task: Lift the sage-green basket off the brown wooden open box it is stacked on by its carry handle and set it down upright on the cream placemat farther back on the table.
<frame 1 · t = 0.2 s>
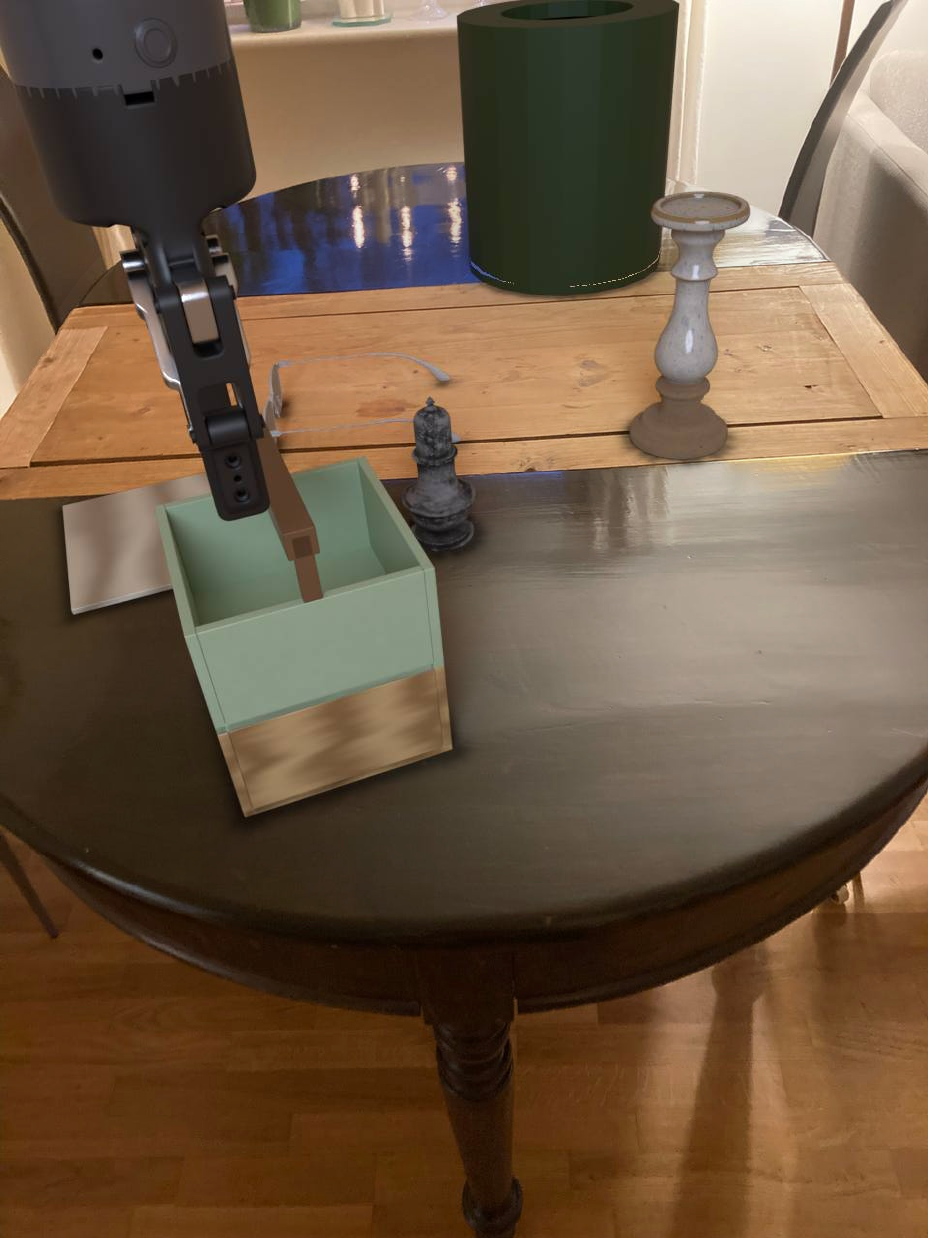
hand: (227, 466, 42), 22 cm above the table, tool pointing down, fingers open, 8 cm apart
placemat: (166, 534, 77), on the table
candle holder: (677, 438, 85), on the table
flower pot: (563, 261, 123), on the table
eyeglasses: (366, 420, 91), on the table
brown wooden open box: (324, 712, 60), on the table, touching top basket
top basket: (306, 630, 56), point 7 cm above the table, touching brown wooden open box
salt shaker: (442, 534, 75), on the table
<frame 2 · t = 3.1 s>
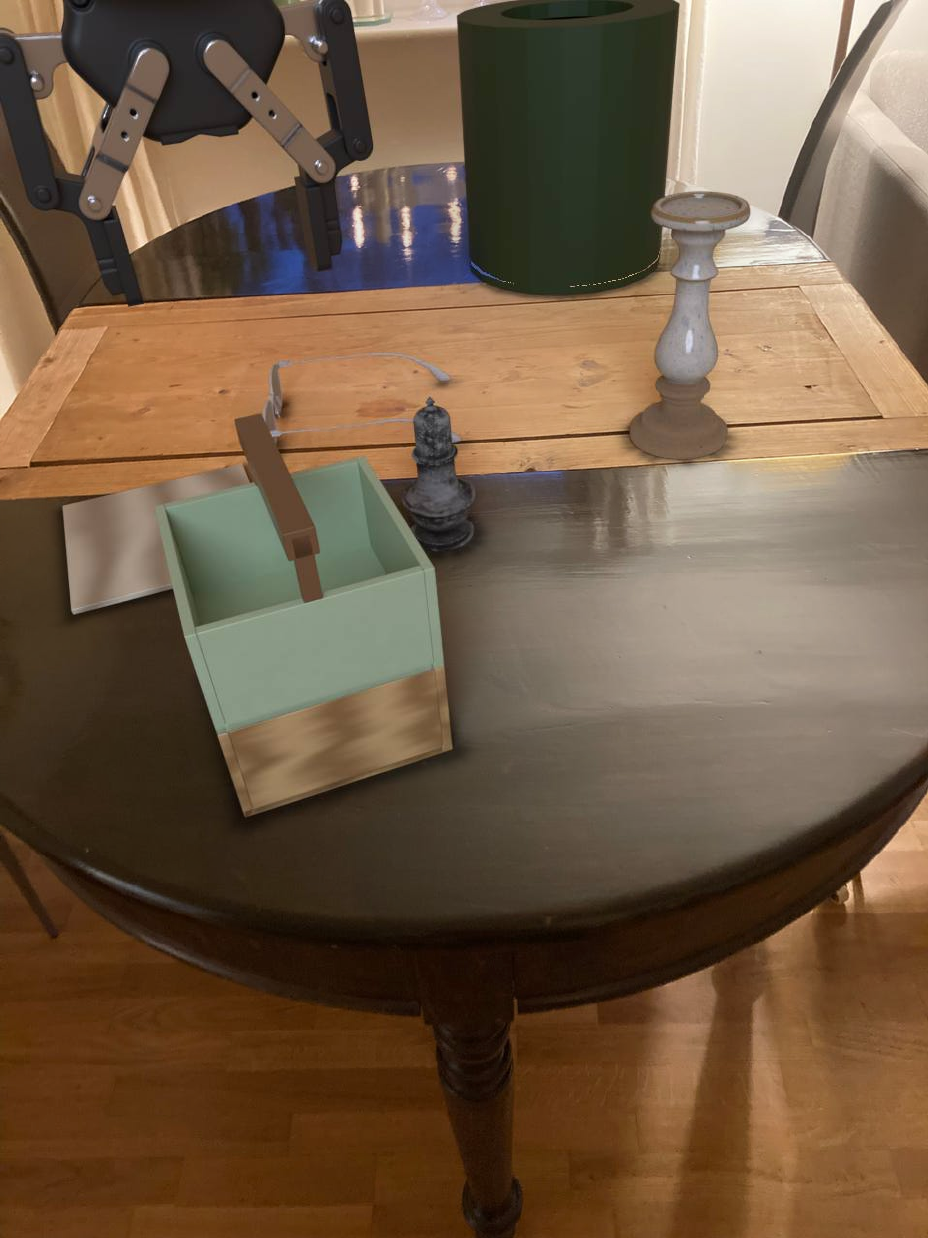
hand: (230, 282, 42), 28 cm above the table, tool pointing down, fingers open, 8 cm apart
nothing on the table moved.
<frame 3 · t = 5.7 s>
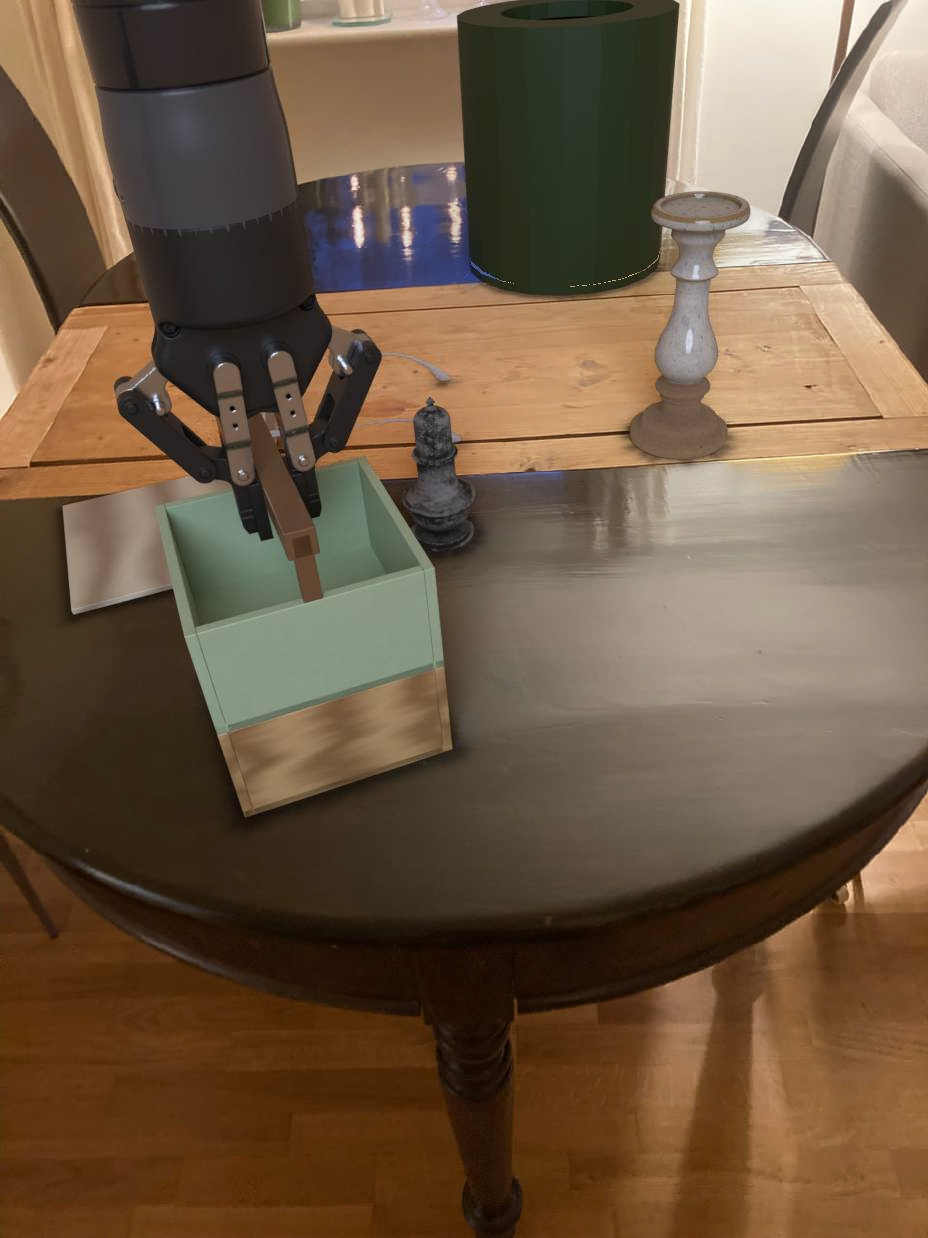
hand: (284, 526, 51), 15 cm above the table, tool pointing down, fingers closed on top basket
top basket: (306, 630, 56), point 7 cm above the table, touching brown wooden open box, gripper
everything else where it was.
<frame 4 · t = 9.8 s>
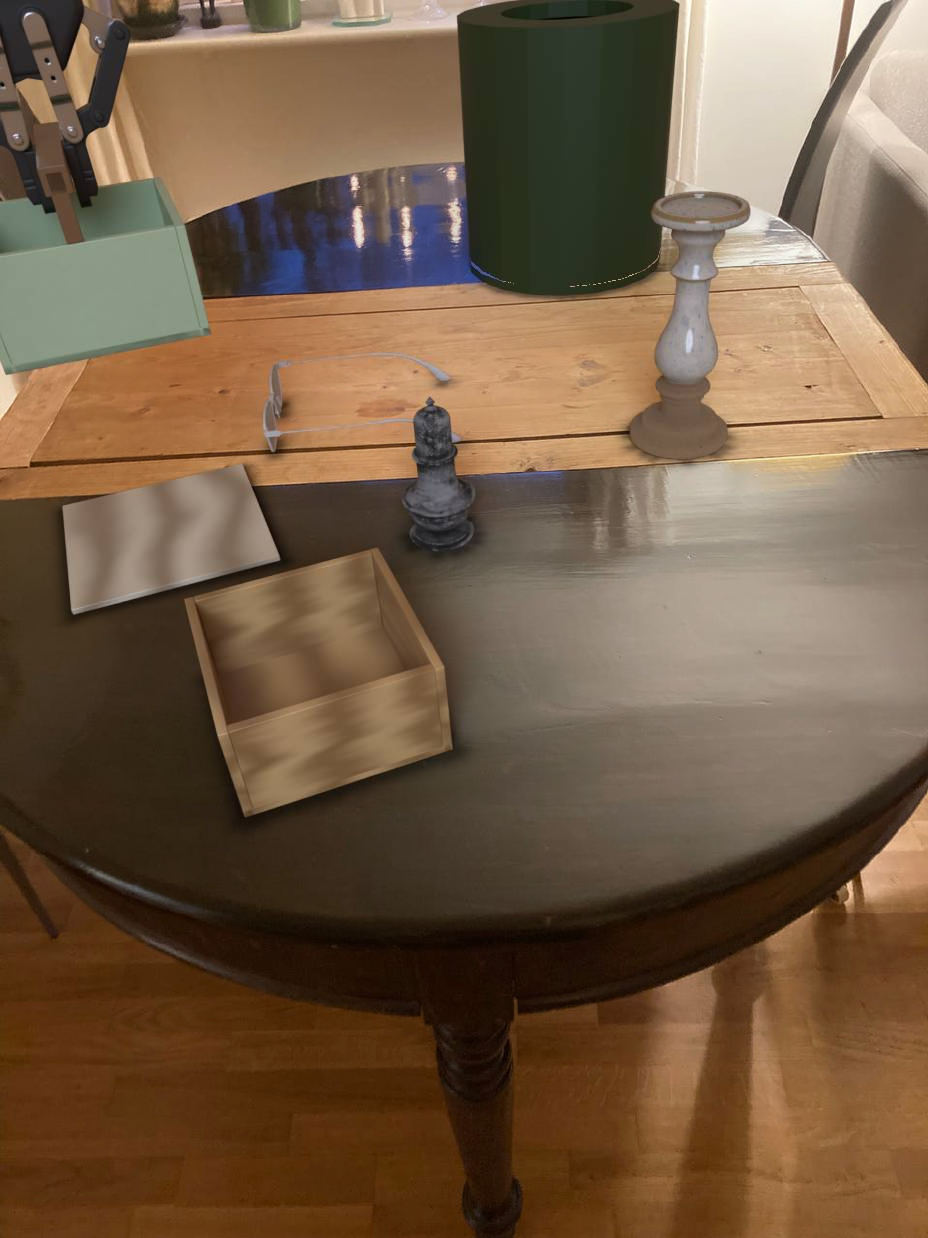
hand: (68, 206, 60), 26 cm above the table, tool pointing down, fingers closed on top basket
brown wooden open box: (324, 712, 60), on the table
top basket: (104, 319, 64), point 19 cm above the table, touching gripper
everything else where it was.
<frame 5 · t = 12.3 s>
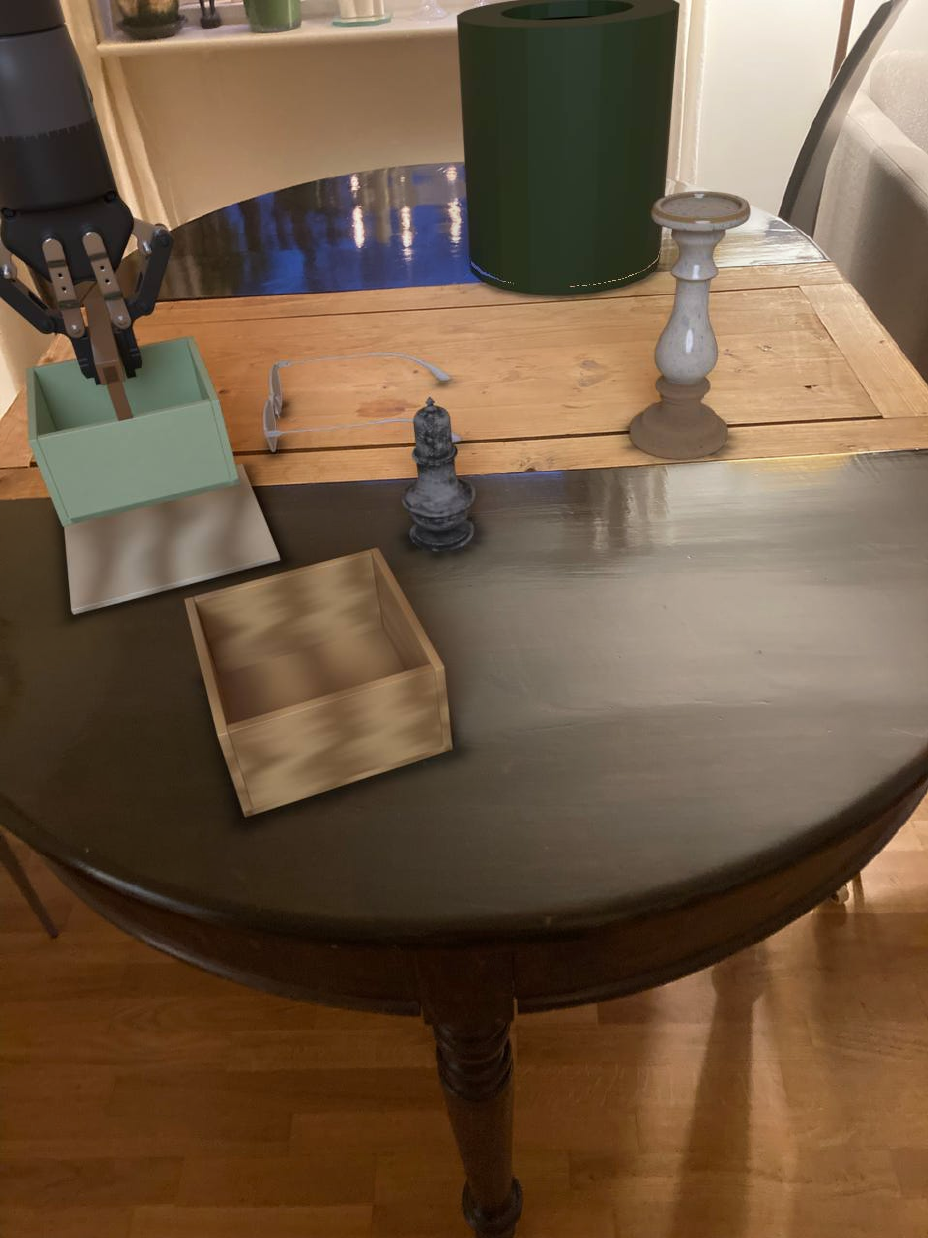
hand: (116, 376, 68), 14 cm above the table, tool pointing down, fingers closed on top basket
top basket: (144, 465, 73), point 7 cm above the table, touching gripper
everything else where it was.
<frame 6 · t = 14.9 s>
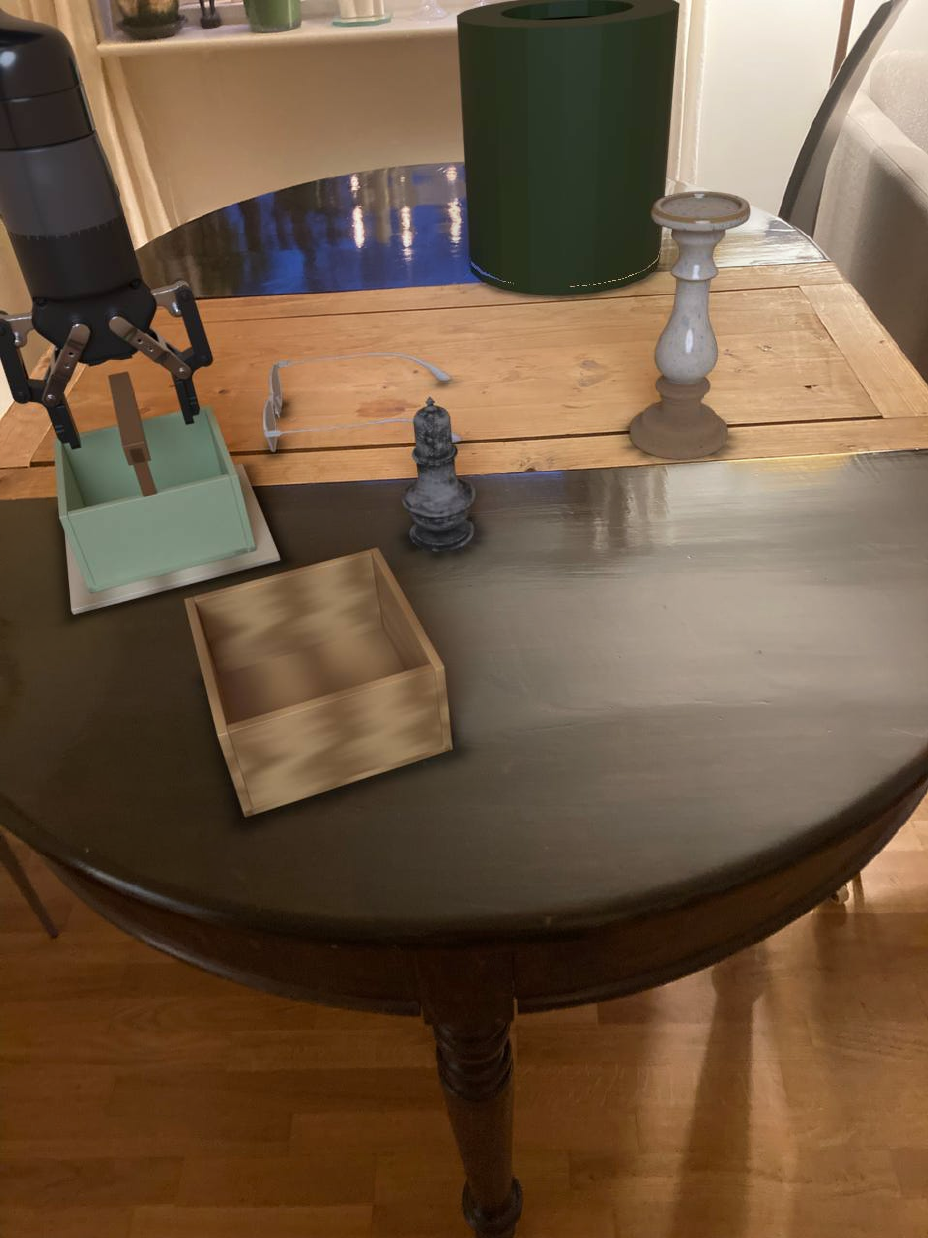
hand: (133, 432, 71), 10 cm above the table, tool pointing down, fingers open, 8 cm apart
top basket: (165, 529, 77), resting on placemat
everything else where it was.
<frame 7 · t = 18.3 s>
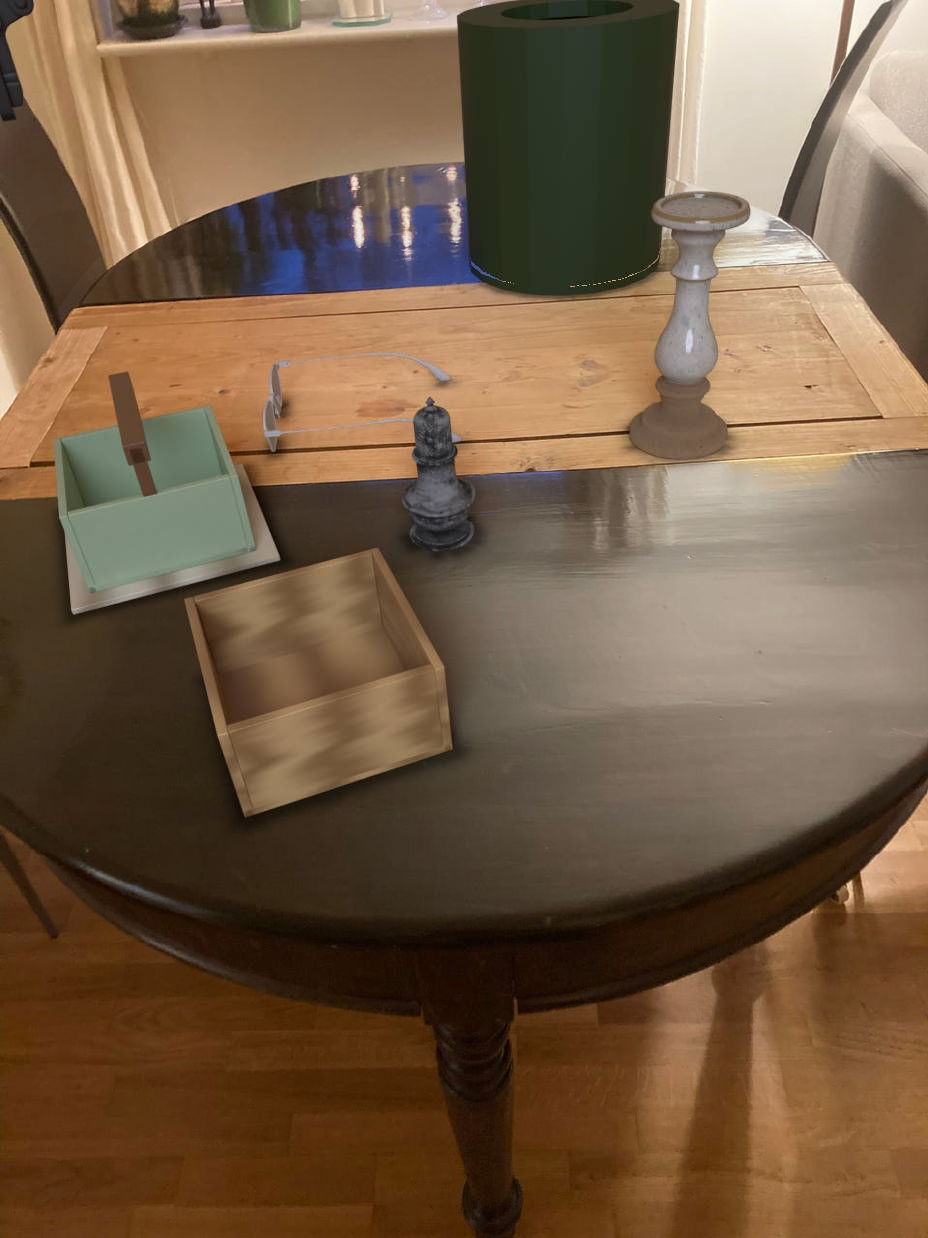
nothing on the table moved.
at the end: top basket inside the target area on the placemat (0.0 cm from its centre), point 0.5 cm above the placemat's base; top basket tilted 0°; brown wooden open box moved 0.0 cm from its start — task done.
